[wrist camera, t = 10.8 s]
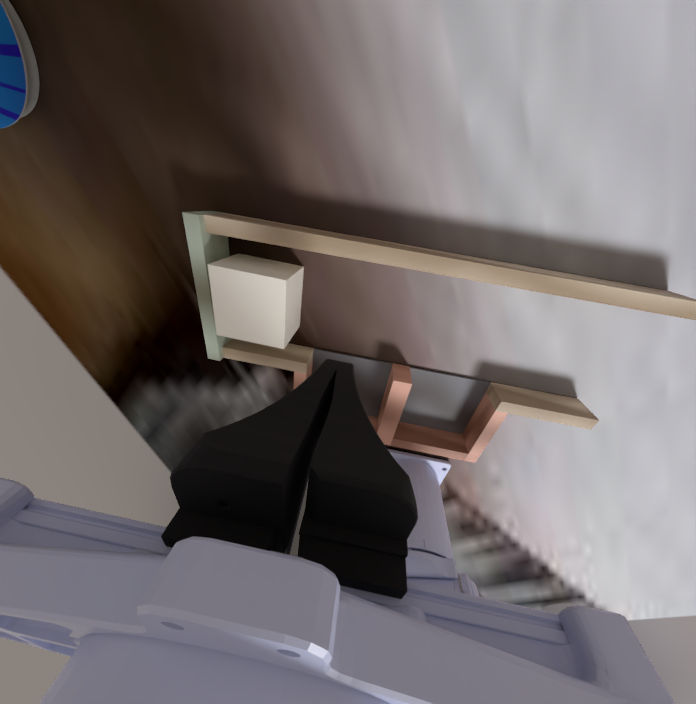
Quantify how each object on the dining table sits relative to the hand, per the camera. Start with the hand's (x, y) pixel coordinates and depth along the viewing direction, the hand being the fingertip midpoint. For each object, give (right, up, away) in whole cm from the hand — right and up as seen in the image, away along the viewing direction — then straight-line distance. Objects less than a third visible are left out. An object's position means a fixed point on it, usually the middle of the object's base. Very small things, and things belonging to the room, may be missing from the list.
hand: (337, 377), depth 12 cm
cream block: (-6, +6, +8) cm, 11 cm away
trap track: (+5, +1, +9) cm, 10 cm away
